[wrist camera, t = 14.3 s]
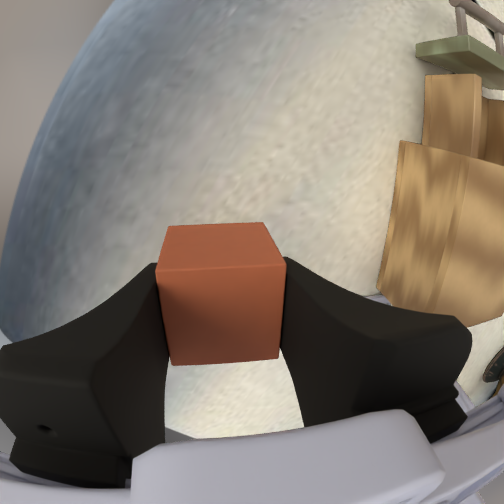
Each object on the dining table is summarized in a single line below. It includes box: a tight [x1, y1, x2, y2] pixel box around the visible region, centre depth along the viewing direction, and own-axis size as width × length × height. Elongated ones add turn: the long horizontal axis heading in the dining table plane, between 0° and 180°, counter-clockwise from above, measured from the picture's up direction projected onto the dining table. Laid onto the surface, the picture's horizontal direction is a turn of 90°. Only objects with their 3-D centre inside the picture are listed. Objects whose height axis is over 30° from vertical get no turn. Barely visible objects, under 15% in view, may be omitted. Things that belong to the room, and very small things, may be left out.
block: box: [155, 222, 287, 366], centre depth 11 cm, size 4×4×4 cm
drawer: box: [416, 0, 504, 166], centre depth 16 cm, size 16×9×6 cm, turn 179°
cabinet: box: [376, 141, 504, 328], centre depth 20 cm, size 13×11×8 cm
